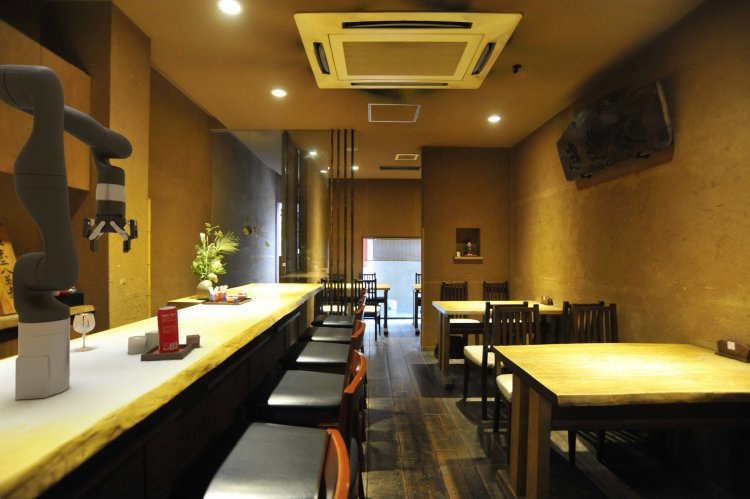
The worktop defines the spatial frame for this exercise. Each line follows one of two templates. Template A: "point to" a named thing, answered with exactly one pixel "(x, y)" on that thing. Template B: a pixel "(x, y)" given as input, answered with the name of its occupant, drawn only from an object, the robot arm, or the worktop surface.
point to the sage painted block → (151, 339)
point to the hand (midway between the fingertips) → (110, 252)
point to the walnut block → (193, 340)
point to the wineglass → (84, 326)
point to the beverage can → (168, 329)
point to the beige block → (136, 345)
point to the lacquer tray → (156, 356)
